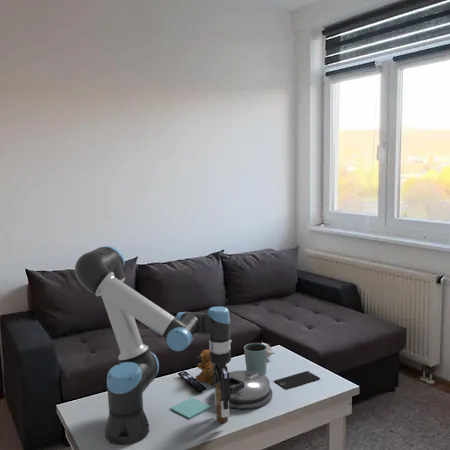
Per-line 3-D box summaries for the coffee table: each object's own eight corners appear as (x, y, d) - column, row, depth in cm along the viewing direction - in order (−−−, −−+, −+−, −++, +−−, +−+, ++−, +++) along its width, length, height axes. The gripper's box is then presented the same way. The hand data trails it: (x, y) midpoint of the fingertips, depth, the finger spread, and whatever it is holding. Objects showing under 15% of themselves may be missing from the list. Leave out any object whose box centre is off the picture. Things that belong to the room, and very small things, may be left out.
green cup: (268, 377, 215) (267, 351, 213) (244, 378, 215) (244, 351, 213) (266, 367, 225) (266, 342, 223) (244, 368, 225) (243, 342, 223)
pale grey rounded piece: (268, 366, 236) (281, 350, 233) (257, 365, 229) (270, 349, 227) (258, 352, 241) (270, 337, 239) (247, 351, 235) (259, 335, 233)
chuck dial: (241, 375, 214) (241, 361, 213) (280, 390, 199) (280, 375, 199) (206, 392, 199) (205, 378, 199) (245, 409, 185) (244, 394, 184)
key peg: (222, 424, 179) (221, 387, 177) (214, 420, 181) (213, 383, 179) (230, 420, 181) (229, 383, 180) (222, 416, 184) (221, 380, 182)
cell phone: (273, 382, 211) (273, 380, 211) (307, 372, 220) (307, 370, 220) (286, 390, 204) (286, 388, 203) (320, 380, 212) (320, 378, 212)
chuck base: (241, 377, 216) (241, 373, 216) (284, 394, 200) (284, 390, 199) (202, 396, 200) (202, 392, 199) (245, 416, 184) (245, 412, 183)
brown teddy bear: (214, 372, 222) (214, 344, 220) (227, 385, 209) (227, 355, 207) (193, 377, 218) (192, 348, 216) (205, 390, 205) (204, 359, 203)
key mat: (189, 419, 183) (189, 417, 183) (170, 409, 190) (170, 407, 190) (211, 407, 190) (211, 406, 190) (191, 398, 198) (191, 397, 198)
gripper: (239, 360, 169) (240, 423, 172) (222, 339, 189) (224, 395, 192) (217, 363, 167) (219, 427, 170) (203, 341, 187) (205, 398, 190)
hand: (222, 410), depth 181 cm, fingers open, 8 cm apart
